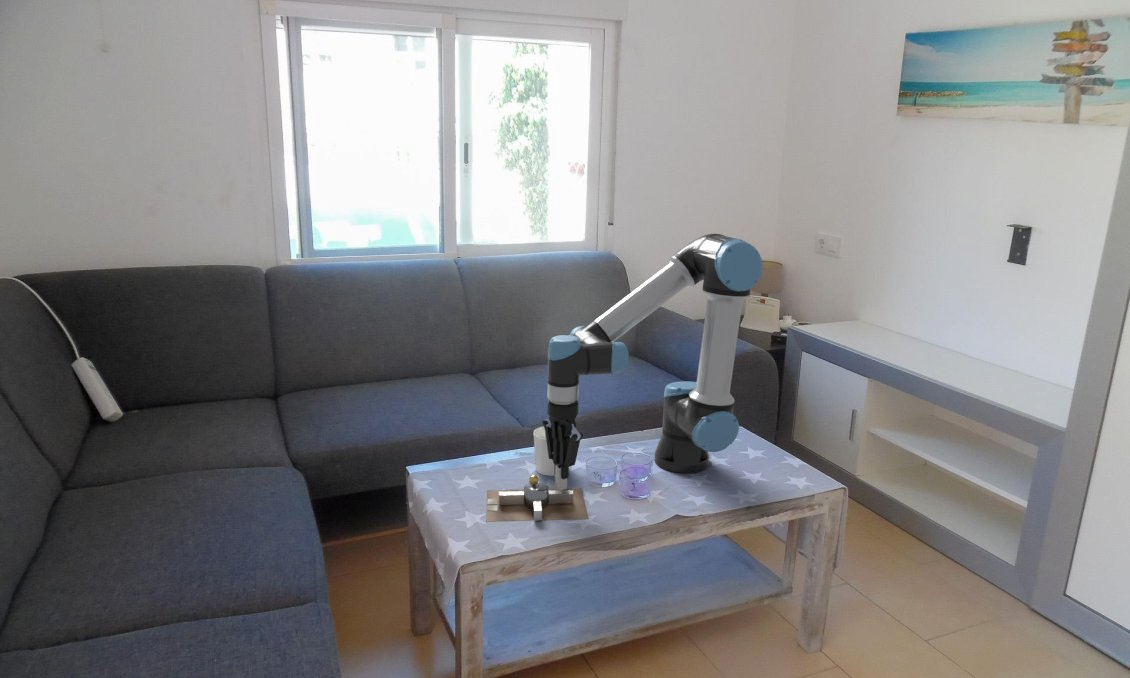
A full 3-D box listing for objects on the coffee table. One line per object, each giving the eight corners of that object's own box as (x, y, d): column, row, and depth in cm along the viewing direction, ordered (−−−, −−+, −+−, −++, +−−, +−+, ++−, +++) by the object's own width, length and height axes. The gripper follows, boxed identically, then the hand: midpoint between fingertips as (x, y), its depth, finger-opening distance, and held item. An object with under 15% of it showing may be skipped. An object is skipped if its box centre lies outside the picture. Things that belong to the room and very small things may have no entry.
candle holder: (565, 483, 204) (566, 441, 200) (529, 479, 205) (529, 437, 202) (572, 468, 213) (573, 427, 210) (537, 464, 215) (538, 424, 212)
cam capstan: (569, 485, 198) (570, 462, 197) (576, 520, 181) (577, 495, 179) (499, 487, 197) (498, 463, 195) (499, 522, 180) (498, 496, 178)
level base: (581, 493, 198) (581, 487, 198) (588, 524, 183) (588, 518, 182) (487, 495, 196) (487, 489, 196) (486, 527, 181) (486, 520, 180)
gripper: (592, 403, 185) (589, 494, 191) (558, 389, 195) (556, 475, 201) (568, 410, 180) (566, 502, 186) (534, 395, 190) (533, 483, 196)
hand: (561, 488), depth 194 cm, fingers closed
